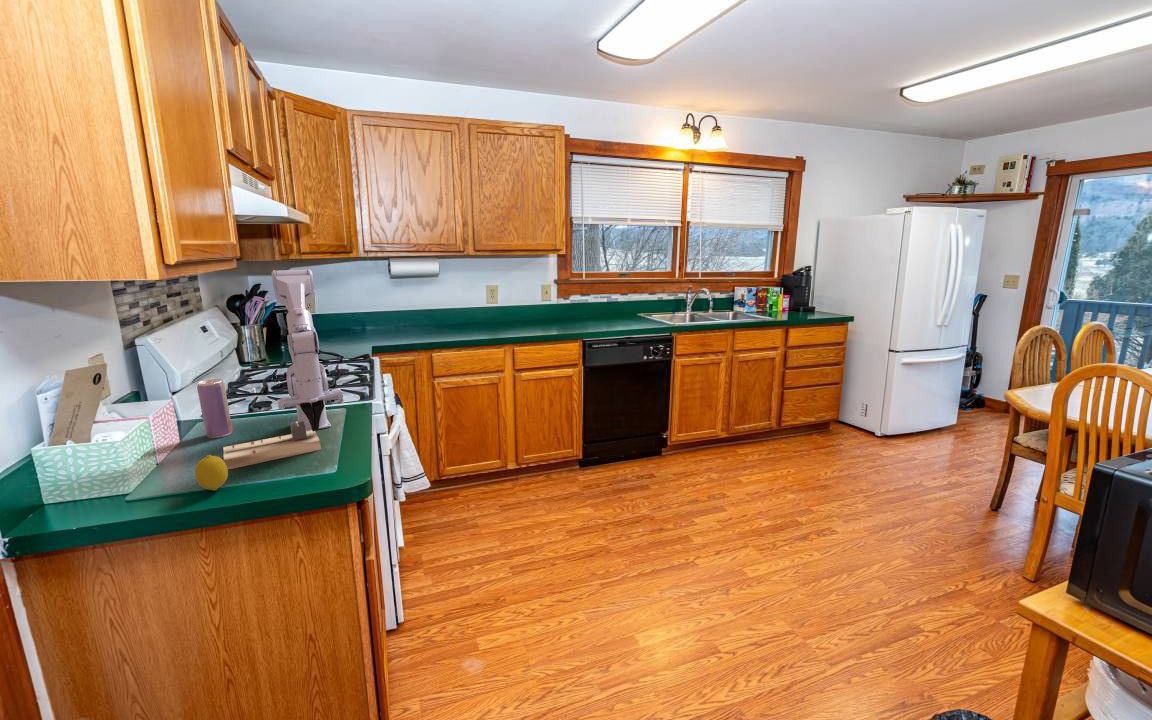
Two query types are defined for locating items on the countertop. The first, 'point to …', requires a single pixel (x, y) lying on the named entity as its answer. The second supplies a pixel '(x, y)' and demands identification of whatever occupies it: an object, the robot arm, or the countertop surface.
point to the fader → (298, 430)
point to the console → (269, 449)
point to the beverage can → (214, 408)
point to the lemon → (211, 472)
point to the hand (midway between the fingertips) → (315, 429)
